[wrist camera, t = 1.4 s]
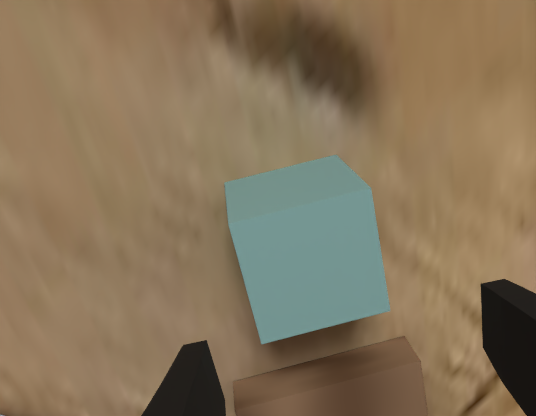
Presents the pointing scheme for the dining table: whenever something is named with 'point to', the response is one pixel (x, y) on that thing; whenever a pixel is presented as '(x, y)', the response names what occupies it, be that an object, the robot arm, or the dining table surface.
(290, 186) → the teal cube
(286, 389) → the walnut base
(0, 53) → the dining table surface
